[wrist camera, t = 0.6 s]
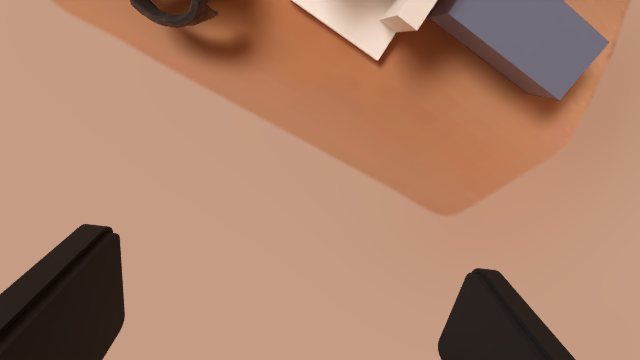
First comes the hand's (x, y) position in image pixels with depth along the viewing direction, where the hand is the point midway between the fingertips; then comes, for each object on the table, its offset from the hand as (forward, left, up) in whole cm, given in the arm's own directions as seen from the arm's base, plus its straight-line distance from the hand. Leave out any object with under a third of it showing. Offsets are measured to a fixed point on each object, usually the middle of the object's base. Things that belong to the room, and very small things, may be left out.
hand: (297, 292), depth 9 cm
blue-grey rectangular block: (-17, +13, -28) cm, 36 cm away
